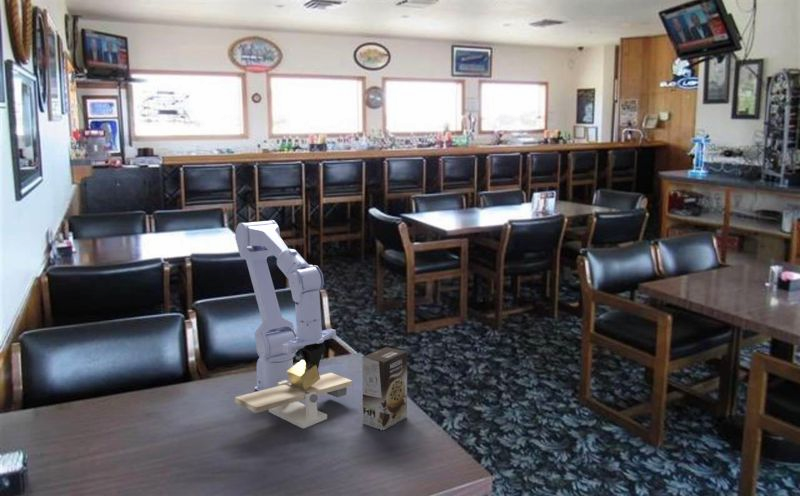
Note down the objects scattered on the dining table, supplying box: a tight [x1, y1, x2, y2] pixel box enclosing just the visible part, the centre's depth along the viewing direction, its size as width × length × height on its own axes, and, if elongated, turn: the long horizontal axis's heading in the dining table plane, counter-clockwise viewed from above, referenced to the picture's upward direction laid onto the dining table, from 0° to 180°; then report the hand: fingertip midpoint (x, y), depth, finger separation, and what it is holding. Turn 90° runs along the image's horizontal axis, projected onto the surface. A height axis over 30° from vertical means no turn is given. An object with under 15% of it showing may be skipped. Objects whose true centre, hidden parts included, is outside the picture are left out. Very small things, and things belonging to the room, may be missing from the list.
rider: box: [287, 359, 320, 391], centre depth 153 cm, size 5×5×4 cm
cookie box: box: [362, 346, 408, 431], centre depth 149 cm, size 9×6×16 cm
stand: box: [268, 380, 328, 429], centre depth 152 cm, size 13×7×7 cm, turn 47°
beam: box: [234, 372, 354, 414], centre depth 152 cm, size 8×28×4 cm, turn 137°
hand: (312, 374), depth 154 cm, fingers closed, pressing on rider
